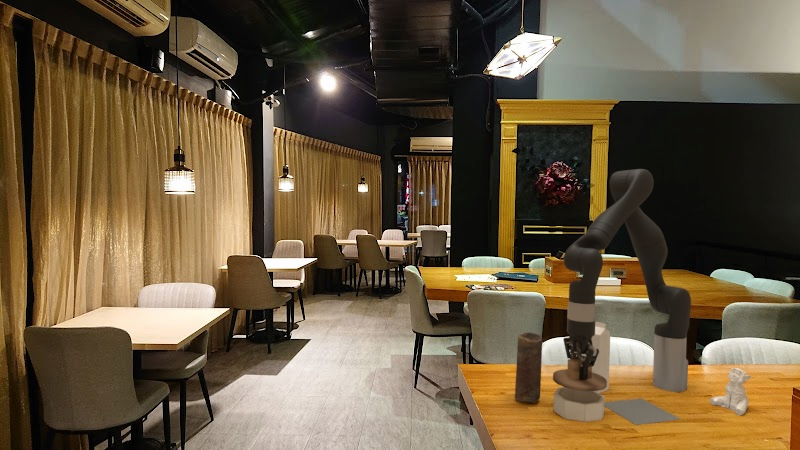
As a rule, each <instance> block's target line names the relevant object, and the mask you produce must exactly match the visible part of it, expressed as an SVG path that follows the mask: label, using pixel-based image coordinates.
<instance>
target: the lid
mask: <svg viewBox="0 0 800 450" xmlns="http://www.w3.org/2000/svg"><path fill="white" fill-rule="evenodd" d="M583 362H585V359H583ZM579 372H580V362H579V359H570V358H567V368H565V369H563V368H562V369H559V370H556V371H554V372H553V373H552V380H553V382H554V383H556V384H557V385H559V386H560V387H566V388H569V389H574V390H579V391H599V390H603V389H605V388H606V387H607V380H606V379H605V378H604V377H603V376H601V375H599V374H596V373H593V372H592V367H588V378H587V380H580V379H579Z"/></svg>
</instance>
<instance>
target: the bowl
mask: <svg viewBox="0 0 800 450" xmlns="http://www.w3.org/2000/svg"><path fill="white" fill-rule="evenodd" d="M553 394H554V395H553V411H554V412H555V413H556V414H557V415H559V416H560V417H562V418H563V419H566V420H570V421H573V420H575V421H579V422H593V421H594V422H595V421H601V420H603V417H604V414H605V406H604V403H605V402H606V400H605V397H606V396H605V395H603V394H601V393H598V392H596V391H579V390H574V389H569V388H566V387H563V386H560V387H557V388H556V390H555V391H554V393H553Z"/></svg>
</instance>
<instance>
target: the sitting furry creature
mask: <svg viewBox="0 0 800 450" xmlns="http://www.w3.org/2000/svg"><path fill="white" fill-rule="evenodd" d="M751 377H752V375H751V374H750V375H749V374H748V375H747V372H745V370H743V369H741V368H739V367H731V369H730V370H729V372H728V380H729V382H727V385H725V387H724V390H725V395H723V396H722V395H721V396H719V395H718V396H713V397H711V398H709V403H710V404H711V405H712V406H717V407H722V408H725V409H727V410H728V409H729V411H731V412H735V414H736V416H745V413H746V412H747V409H748V407H749V404H750V402H749V398H748V395H747V392H746V387H745V386H744V384H745V383H746V382H747V381H749V380H750V379H751Z"/></svg>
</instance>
